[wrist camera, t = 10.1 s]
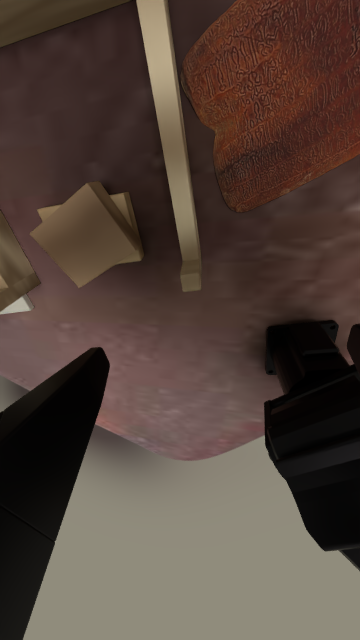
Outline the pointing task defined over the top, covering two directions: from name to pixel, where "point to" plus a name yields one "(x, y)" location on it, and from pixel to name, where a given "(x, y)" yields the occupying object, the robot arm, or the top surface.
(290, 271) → the top surface
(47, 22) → the rack
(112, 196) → the oak offcut
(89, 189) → the tan flat block
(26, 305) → the grey mat
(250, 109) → the wooden tablet
